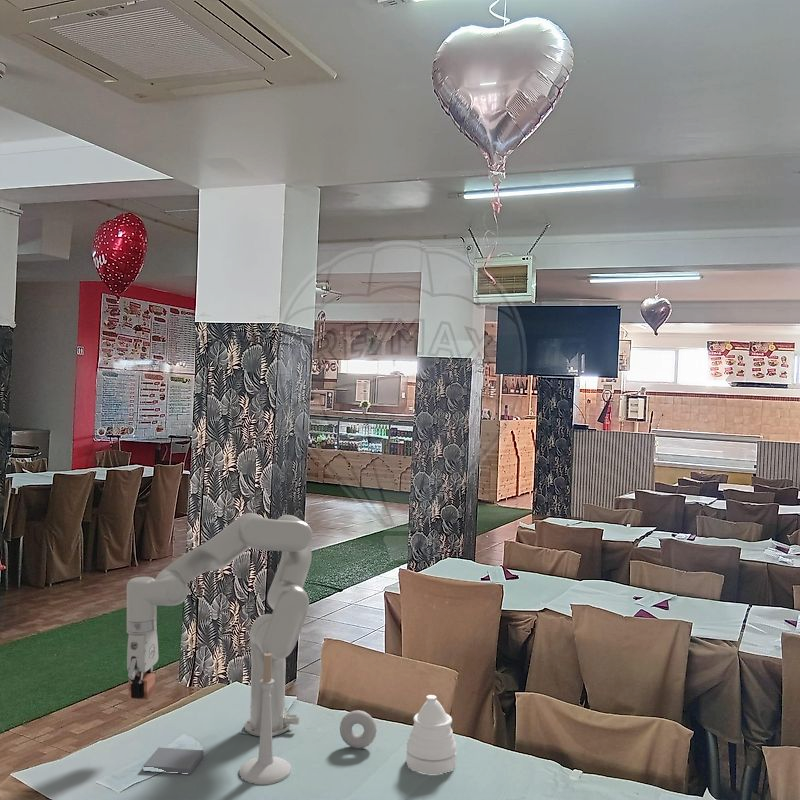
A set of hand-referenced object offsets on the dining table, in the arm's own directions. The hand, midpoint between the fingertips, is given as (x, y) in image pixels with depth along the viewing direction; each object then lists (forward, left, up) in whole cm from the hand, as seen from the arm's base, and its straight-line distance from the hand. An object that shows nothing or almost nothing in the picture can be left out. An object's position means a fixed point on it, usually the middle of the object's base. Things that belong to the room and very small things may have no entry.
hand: (142, 692), depth 209 cm
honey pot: (-77, -2, -15) cm, 78 cm away
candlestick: (-36, +8, -15) cm, 39 cm away
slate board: (-12, +7, -15) cm, 20 cm away
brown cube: (0, 0, -1) cm, 1 cm away
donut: (-57, -8, -15) cm, 59 cm away
